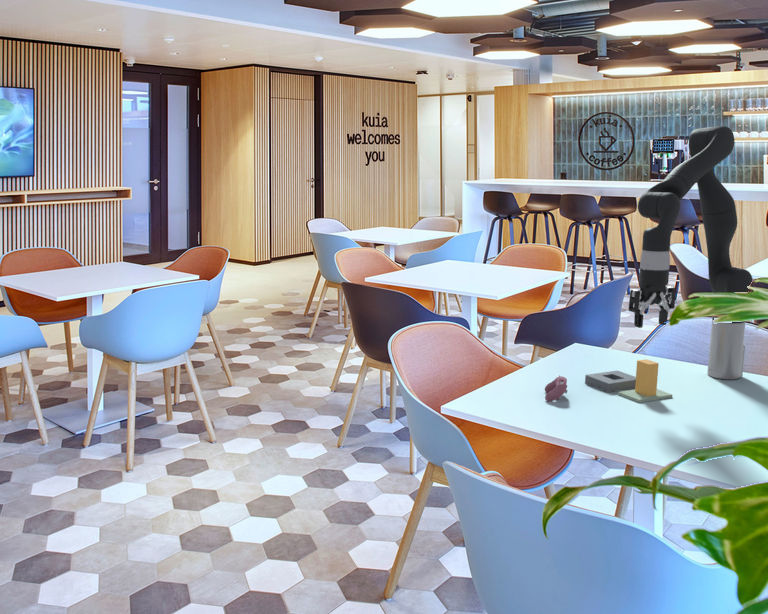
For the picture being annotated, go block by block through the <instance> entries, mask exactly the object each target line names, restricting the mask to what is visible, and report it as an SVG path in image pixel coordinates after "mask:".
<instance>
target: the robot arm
mask: <svg viewBox="0 0 768 614" xmlns="http://www.w3.org/2000/svg"><path fill="white" fill-rule="evenodd" d="M735 140H736V139H735V135H734V133H733V130H732V129H731V128H730V127H729V126H725V125H716V126H708V127H700V128H696V129H693V130H692V131H691V133H690V134H689V137H688V152H689V157H690V158H687V159H686V160H684V161H683V162H682V163H680V164H678V165H677V166H675V167H674V168H673V169H672V170H671V171H670V172H669V173H668V174H667V176H666V177H664V179H663V180H662V181H660V182H658V183H656V184H655V185H653V186H652V187H651V186H650V188H648V189H647V190H646V191H645V192H643V194H642V195H641V196H639V197H640V198H639V199H638V202H637V211H638V213H639V214H640V216H642V217H643V218H646V219H656V220H659V222H658V223H657V226H655V227H648V228H646V229H644V231H643V233H642V246H641V247H642V248H641V255H640V259H639V260H640V262H639V273H638V274H639V275H638V276H639V277H638V283H639V285H640V288H639V289H632V288H631V290H630V291H629V293H630V294H629V300H628V301H629V302H628V312H631V313H634V314H633V315H634V319H633V324H634V326H635V327H636V328H638V329H642V328H643V325H644V312H645V311H646V310H647V309H648V308H649V307H650V306H653V305H656V306H657V307H658V308H659V313H658V324H659V325H662V326H666V325H667V323H664V322H666V321H667V322H668V318H669V317H668V316H669V315H668V314H669V312H670V310H672V309H673V310H674V309H675V306H676V305H675V303H676V288H675V287H673V286H668V284H669V278H670V265H671V255H670V251H671V250H670V249H671V238H672V237H671V236H672V233H673V230H674V228H675V224H676V221H677V218H678V216H679V213H680V210H681V202H680V200H682V199H683V198H684V197H685V196H686V195H687V194H688V193H689V191H690V190H691V189H692V188H693V187H694V186H695V184H696V185H697V191H698V196H699V197H698V198H699V203H700V211H701V212H700V213H701V218H702V224H703V228H704V234H705V235H704V236H705V243H706V250H707V252H706V253H707V261H708V263H707V265H708V267H707V268H708V281H709V287H710V289H711V291H712V293H714V292H748V291H749V289H748V288H747V286H749V285H750V284H751V282H752V281H753V283H752V284H751V285H752V287H753V288H754V280H753V279H754V278H753V276H752V274H751V273H750V271H749V270H747V269H745V268H739V267H734V266H732V265H733V264H732V263H731V262H732V261H731V256H730V247H731V243H732V241H733V239H734V236H735V234H736V231H737V227H738V216H737V215H738V214H737V209H736V202H735V200H734V198H733V196H732V194H731V193H730V192H729V190H728V189H727V188H726V186H724V185H723V184H722V183H721V181H720V180H719V179H718V177H717V175H716V174H715V170H714V168H715V167H716V166H717V165H719V164H720V163H721V162H723V161H724V160H725V159H727V158H728V157H729V156H730V154H731V153H732V152H733V150H734V147H735ZM711 319H712V320H711V326H710V327H711V329H710V340H709V353H708V360H707V361H708V362H707V375H708V376H709V377H712V378H715V379H720V380H737V379H738V380H739V379H740V378H741V377H743V375H744V374H743V372H744V365H745V364H744V363H745V354H746V346H745V344H744V342H745V332H746V331H745V330H746V321H745V322H732V323H717V324H714V323H713V320H714V318H712V317H711Z"/></svg>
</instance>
